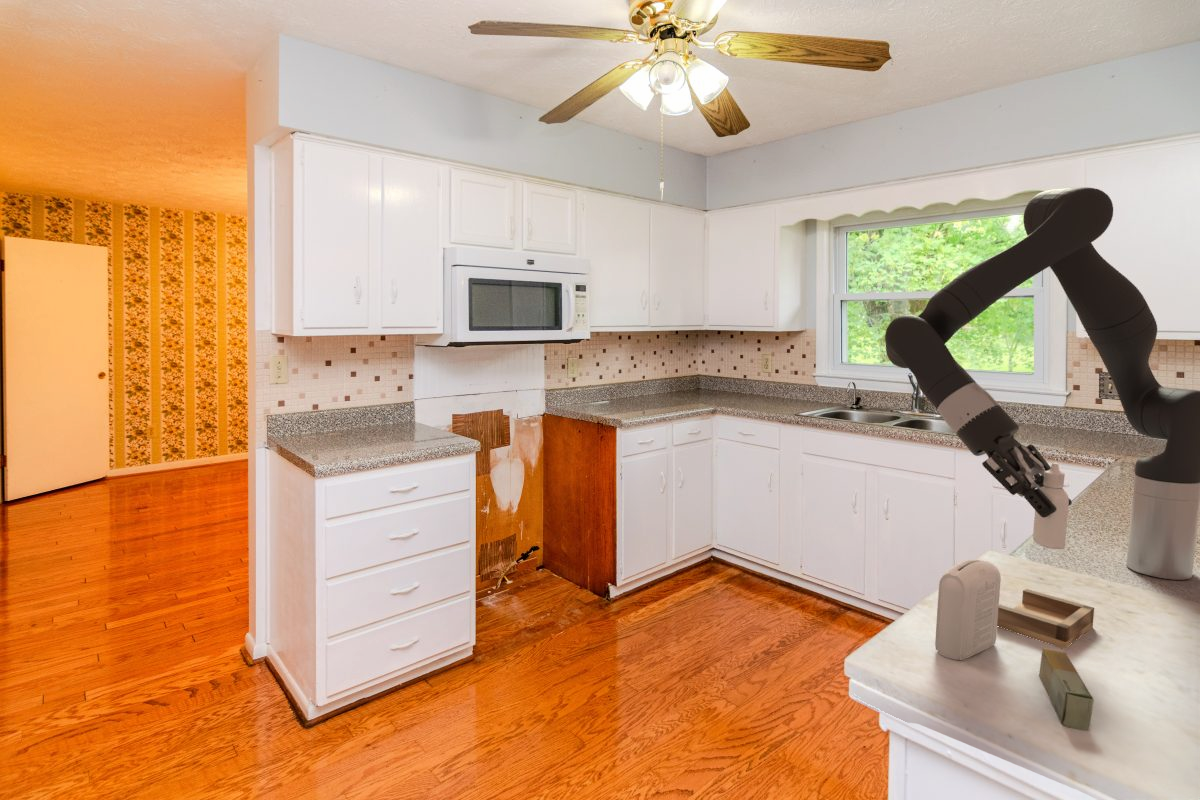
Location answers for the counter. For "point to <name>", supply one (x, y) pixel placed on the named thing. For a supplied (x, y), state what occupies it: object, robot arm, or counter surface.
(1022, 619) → the oak tray
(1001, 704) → the counter surface
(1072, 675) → the medication box
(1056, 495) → the eye dropper bottle
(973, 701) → the counter surface
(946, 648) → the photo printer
